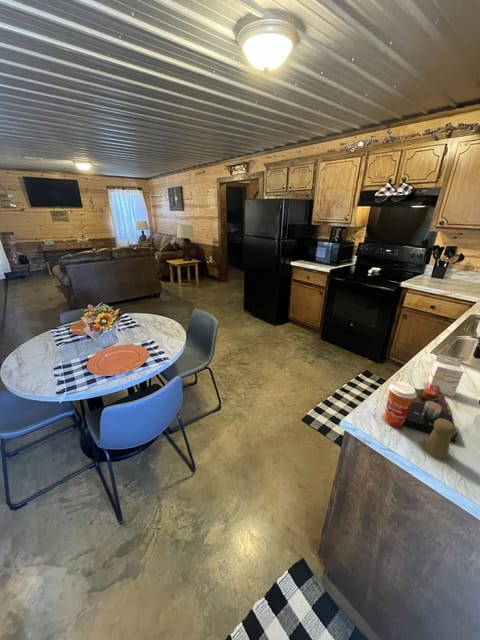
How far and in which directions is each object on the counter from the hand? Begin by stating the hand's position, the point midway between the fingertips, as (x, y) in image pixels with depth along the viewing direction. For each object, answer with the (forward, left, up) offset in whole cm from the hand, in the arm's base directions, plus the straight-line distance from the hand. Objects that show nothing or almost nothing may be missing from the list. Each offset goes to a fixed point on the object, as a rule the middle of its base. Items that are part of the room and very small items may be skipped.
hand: (479, 357), depth 88 cm
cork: (+10, +26, -22) cm, 36 cm away
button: (+10, +1, -18) cm, 21 cm away
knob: (+11, +14, -19) cm, 26 cm away
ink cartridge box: (+4, -11, -22) cm, 25 cm away
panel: (+11, +14, -22) cm, 28 cm away
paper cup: (+21, +18, -22) cm, 36 cm away
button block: (+10, +1, -22) cm, 24 cm away
